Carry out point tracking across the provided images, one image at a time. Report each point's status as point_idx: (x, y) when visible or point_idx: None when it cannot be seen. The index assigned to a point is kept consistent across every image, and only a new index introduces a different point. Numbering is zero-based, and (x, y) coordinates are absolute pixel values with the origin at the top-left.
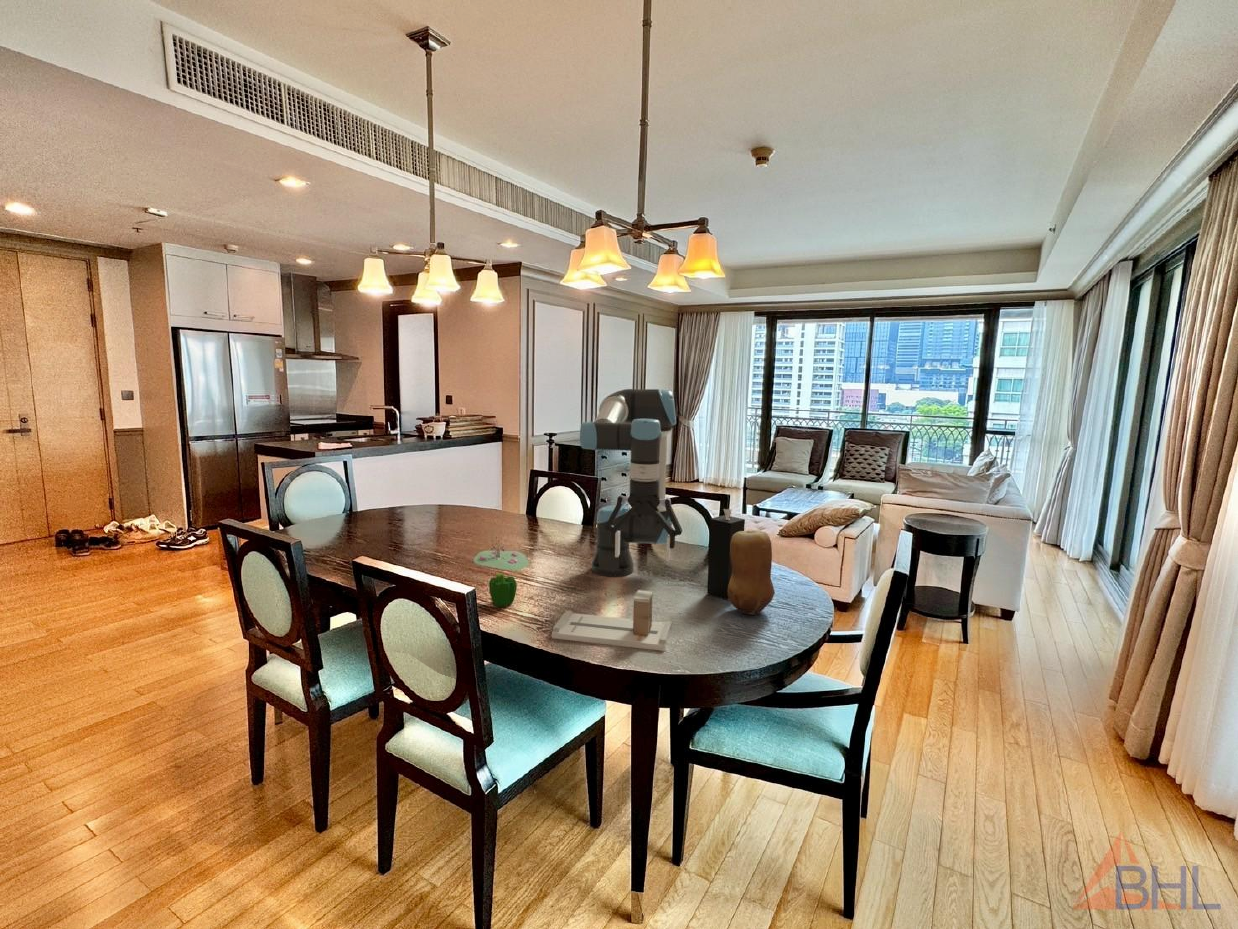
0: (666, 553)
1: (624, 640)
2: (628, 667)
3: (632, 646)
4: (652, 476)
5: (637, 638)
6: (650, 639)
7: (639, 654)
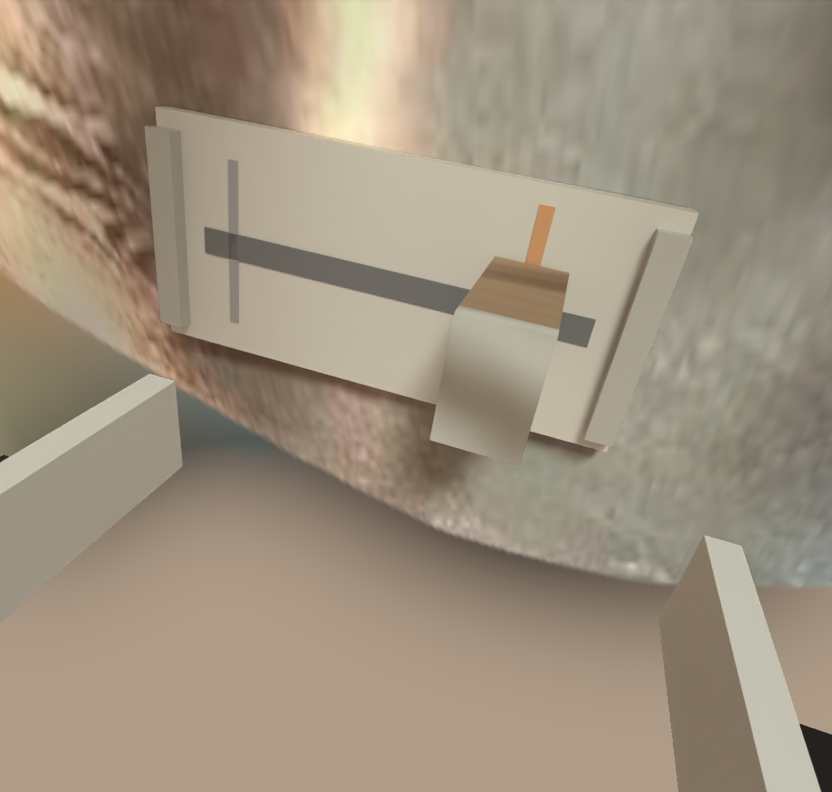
0: (669, 704)
1: None
2: (461, 530)
3: None
4: None
5: None
6: (549, 399)
7: None
